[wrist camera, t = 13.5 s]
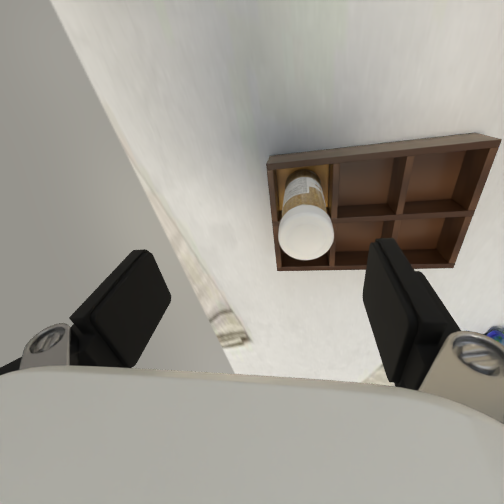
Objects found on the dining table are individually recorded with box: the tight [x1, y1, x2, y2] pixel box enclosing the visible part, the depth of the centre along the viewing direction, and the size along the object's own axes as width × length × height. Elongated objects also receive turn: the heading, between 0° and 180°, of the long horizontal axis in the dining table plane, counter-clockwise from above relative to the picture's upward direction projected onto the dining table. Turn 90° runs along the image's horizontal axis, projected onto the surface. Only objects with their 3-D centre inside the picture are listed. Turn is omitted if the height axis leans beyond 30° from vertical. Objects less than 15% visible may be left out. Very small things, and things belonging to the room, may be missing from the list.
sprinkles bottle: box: [278, 169, 334, 260], centre depth 26 cm, size 5×5×13 cm
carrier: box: [266, 133, 501, 271], centre depth 30 cm, size 15×22×4 cm
